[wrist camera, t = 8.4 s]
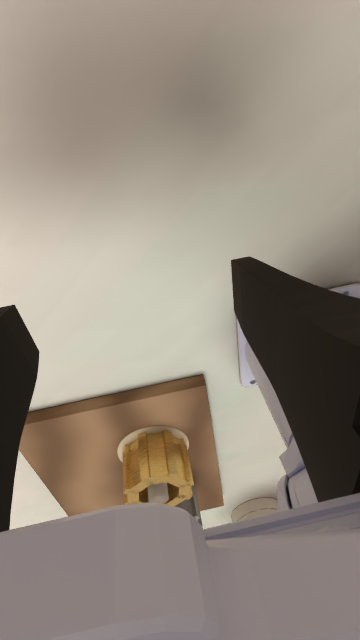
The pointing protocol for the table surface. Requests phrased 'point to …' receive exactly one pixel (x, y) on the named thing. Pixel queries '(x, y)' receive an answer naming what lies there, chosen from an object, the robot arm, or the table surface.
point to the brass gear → (156, 467)
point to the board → (120, 443)
